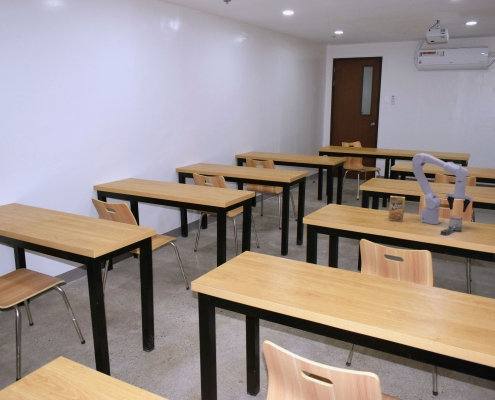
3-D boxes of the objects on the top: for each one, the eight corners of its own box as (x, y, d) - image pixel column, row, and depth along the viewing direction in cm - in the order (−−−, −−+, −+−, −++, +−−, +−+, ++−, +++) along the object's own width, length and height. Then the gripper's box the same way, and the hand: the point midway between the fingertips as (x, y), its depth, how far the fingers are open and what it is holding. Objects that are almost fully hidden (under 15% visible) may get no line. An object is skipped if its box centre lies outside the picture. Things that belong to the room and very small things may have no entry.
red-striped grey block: (448, 225, 254) (449, 216, 253) (452, 224, 257) (453, 215, 256) (457, 227, 250) (458, 218, 249) (461, 226, 253) (462, 217, 252)
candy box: (388, 220, 274) (390, 196, 271) (388, 219, 278) (390, 195, 275) (402, 222, 271) (405, 198, 268) (403, 220, 275) (405, 196, 272)
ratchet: (436, 233, 247) (437, 225, 246) (451, 227, 259) (452, 219, 258) (449, 236, 242) (450, 227, 241) (463, 230, 254) (464, 222, 253)
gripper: (444, 187, 259) (442, 209, 262) (470, 190, 249) (467, 213, 252) (450, 185, 264) (447, 207, 267) (475, 189, 253) (472, 212, 256)
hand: (457, 210), depth 260 cm, fingers open, 7 cm apart
